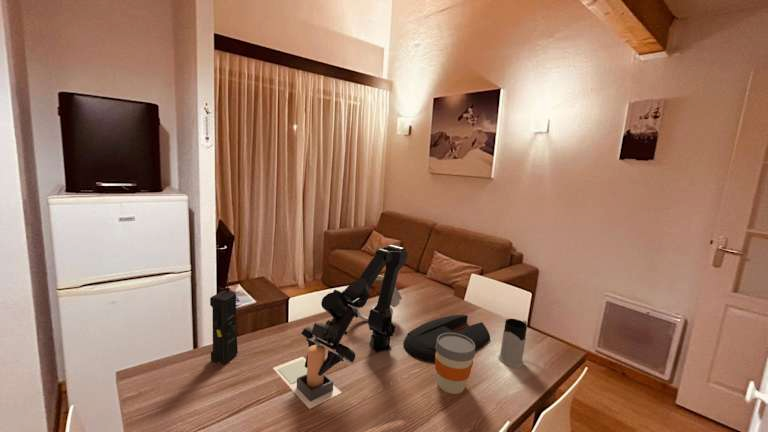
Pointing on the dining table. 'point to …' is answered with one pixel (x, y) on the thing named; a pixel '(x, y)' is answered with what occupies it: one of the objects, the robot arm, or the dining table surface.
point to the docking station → (426, 335)
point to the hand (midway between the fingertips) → (312, 371)
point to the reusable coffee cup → (453, 361)
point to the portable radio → (224, 326)
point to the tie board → (305, 383)
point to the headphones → (394, 302)
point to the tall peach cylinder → (315, 366)
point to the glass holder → (513, 343)
